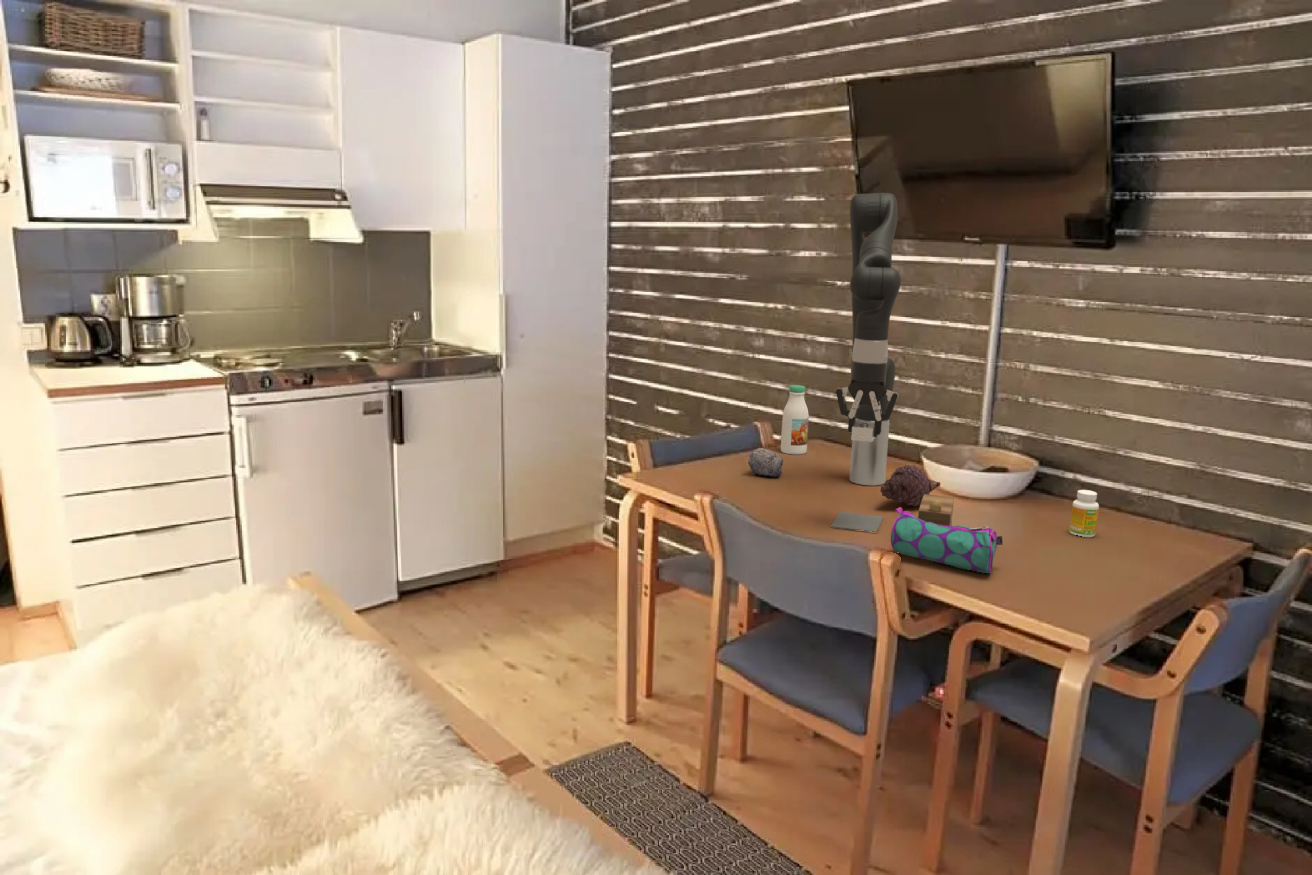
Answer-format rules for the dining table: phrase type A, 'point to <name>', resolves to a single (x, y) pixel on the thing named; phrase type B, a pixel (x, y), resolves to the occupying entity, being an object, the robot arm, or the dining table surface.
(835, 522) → the mat
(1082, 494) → the supplement bottle
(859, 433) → the lever cap
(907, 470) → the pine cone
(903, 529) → the pencil case
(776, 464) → the pumice stone
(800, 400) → the milk bottle
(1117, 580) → the dining table surface
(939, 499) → the body
